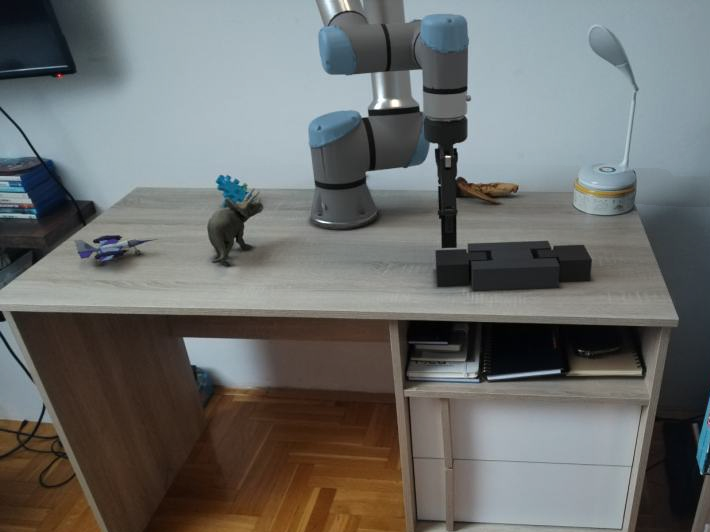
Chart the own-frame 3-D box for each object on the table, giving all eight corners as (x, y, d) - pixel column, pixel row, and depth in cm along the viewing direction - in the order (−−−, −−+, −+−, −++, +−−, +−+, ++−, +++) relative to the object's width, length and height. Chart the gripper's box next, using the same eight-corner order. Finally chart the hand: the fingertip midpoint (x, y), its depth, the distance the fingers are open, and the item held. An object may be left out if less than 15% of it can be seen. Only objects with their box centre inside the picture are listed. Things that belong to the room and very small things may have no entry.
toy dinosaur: (221, 281, 124) (208, 225, 118) (181, 277, 126) (167, 222, 120) (271, 237, 143) (263, 187, 137) (236, 234, 144) (226, 185, 138)
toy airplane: (167, 249, 137) (162, 233, 136) (114, 276, 127) (109, 259, 125) (120, 241, 142) (116, 225, 140) (66, 266, 131) (60, 250, 129)
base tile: (467, 263, 130) (467, 243, 128) (546, 260, 131) (548, 240, 128) (472, 291, 120) (472, 269, 117) (558, 287, 120) (559, 266, 118)
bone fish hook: (445, 205, 160) (518, 205, 158) (444, 187, 157) (518, 186, 156) (448, 191, 168) (518, 191, 166) (447, 174, 165) (518, 173, 164)
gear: (242, 208, 154) (210, 176, 152) (228, 224, 156) (197, 193, 155) (264, 199, 164) (235, 169, 162) (250, 214, 166) (222, 185, 165)
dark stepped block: (534, 266, 128) (535, 246, 126) (581, 265, 129) (583, 244, 126) (540, 282, 122) (541, 261, 120) (589, 280, 123) (592, 259, 120)
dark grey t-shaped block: (436, 270, 127) (435, 250, 125) (484, 268, 128) (484, 248, 125) (437, 286, 121) (436, 265, 119) (487, 284, 122) (488, 263, 119)
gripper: (473, 135, 100) (472, 260, 112) (462, 99, 121) (462, 207, 133) (425, 136, 100) (429, 261, 112) (422, 99, 121) (426, 208, 132)
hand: (447, 232), depth 122 cm, fingers open, 13 cm apart
